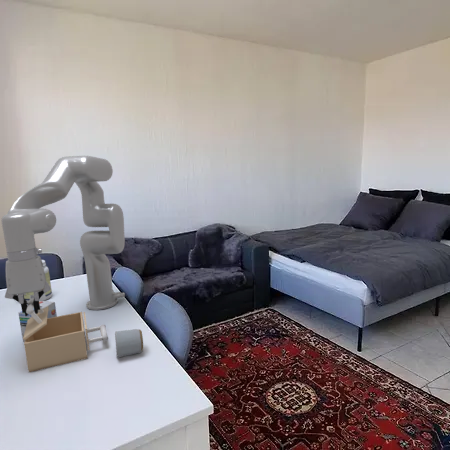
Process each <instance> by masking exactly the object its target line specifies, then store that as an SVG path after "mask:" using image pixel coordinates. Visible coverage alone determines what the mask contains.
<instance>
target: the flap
mask: <svg viewBox="0 0 450 450" xmlns="http://www.w3.org/2000/svg"><path fill="white" fill-rule="evenodd" d="M33 300H34V298H31V299H30V300H29V303H27V305H28V306H27V310H26V313H27V314H30V315H31V316H32V317H31V318H30V319H28V321H27V325H26V329H25V333H24V337H23V338H22V340H23V339H24V340H26V339H27V338H28V337H30V336H31V335H33V334H34V333H35V332H37V331H38V330H40V329H41V328H42V327H44V326H45V325H46V324H47V317H48V309H49V307H48V306H47V307H46V308H44V309H43V310H42V309H41V307H40V310H38V311H39V312H38V314H35V312H34V311H33V310H34V305H33Z"/></svg>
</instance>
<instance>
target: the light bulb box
mask: <svg viewBox="0 0 450 450" xmlns="http://www.w3.org/2000/svg"><path fill="white" fill-rule="evenodd" d="M39 304H40V307H41V309H42V310H43V309H44V308H46V307H47V306H48V307H49V309H48V317H47V318H52V317H57V316H58V315H57V310H56V309H57V308H56V307H57V306H56V302H55V301H47V300H45V301H39ZM33 311H34V310H33ZM34 312H35V311H34ZM38 312H39V311H38ZM31 317H32V316H31V315H30V314H28V315H27V316H25V313H22V310H21V311H19V312H18V319H19V323H20V325H19V326H20V331H21V338H22V342H23V343H24V342H25V340H24V339H23V337H24V333H25V329H26V325H27V321H28V319H30V318H31Z"/></svg>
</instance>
